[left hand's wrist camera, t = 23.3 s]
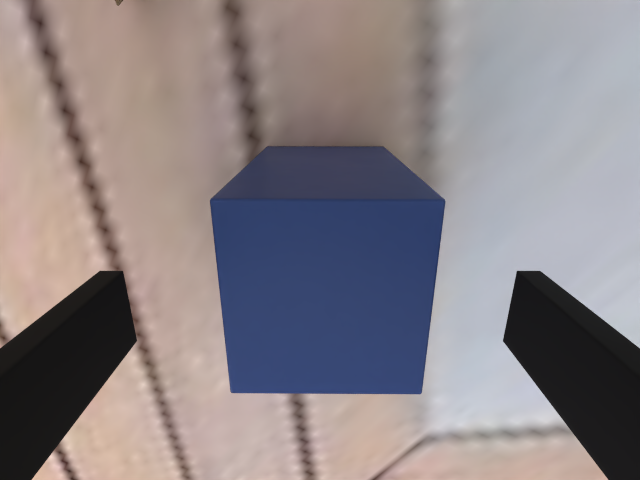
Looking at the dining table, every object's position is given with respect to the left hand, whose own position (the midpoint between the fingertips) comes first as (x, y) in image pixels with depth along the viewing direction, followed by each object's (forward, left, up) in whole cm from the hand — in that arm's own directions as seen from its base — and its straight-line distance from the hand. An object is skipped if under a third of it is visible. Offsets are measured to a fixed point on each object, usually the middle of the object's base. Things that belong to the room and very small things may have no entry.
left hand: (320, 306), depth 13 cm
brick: (0, 0, -11) cm, 11 cm away
